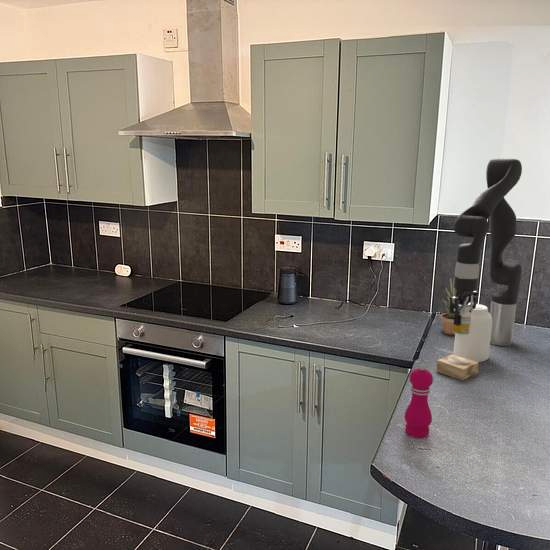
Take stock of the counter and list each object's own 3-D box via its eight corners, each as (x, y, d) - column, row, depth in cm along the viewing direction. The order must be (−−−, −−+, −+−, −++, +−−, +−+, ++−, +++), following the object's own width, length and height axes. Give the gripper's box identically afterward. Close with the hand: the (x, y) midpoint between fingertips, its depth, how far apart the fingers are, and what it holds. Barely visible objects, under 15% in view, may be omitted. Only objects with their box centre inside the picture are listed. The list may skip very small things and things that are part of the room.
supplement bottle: (456, 329, 182) (458, 302, 180) (471, 332, 179) (474, 305, 177) (450, 333, 178) (453, 306, 176) (466, 336, 175) (468, 309, 173)
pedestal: (452, 364, 189) (453, 353, 188) (477, 373, 181) (479, 361, 180) (436, 370, 183) (437, 359, 182) (462, 380, 175) (463, 368, 174)
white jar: (494, 357, 196) (500, 306, 191) (477, 365, 188) (483, 312, 183) (463, 347, 205) (468, 299, 200) (446, 355, 197) (451, 305, 192)
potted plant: (439, 327, 228) (443, 273, 223) (461, 329, 226) (467, 274, 220) (439, 335, 219) (444, 278, 213) (463, 337, 216) (468, 280, 211)
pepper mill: (398, 432, 142) (403, 364, 138) (412, 422, 147) (417, 356, 143) (421, 442, 137) (427, 372, 133) (435, 432, 142) (441, 364, 138)
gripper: (468, 270, 181) (463, 316, 185) (444, 276, 172) (440, 324, 176) (488, 274, 176) (483, 322, 180) (464, 280, 167) (460, 330, 171)
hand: (461, 323), depth 178 cm, fingers closed on supplement bottle, 5 cm apart
